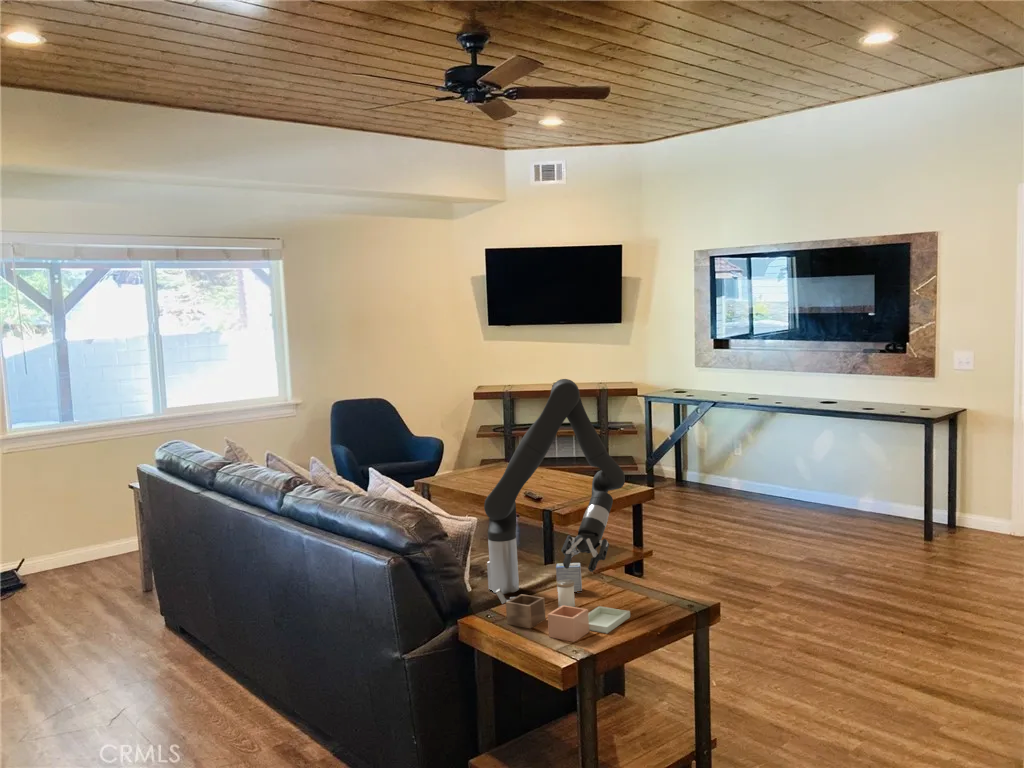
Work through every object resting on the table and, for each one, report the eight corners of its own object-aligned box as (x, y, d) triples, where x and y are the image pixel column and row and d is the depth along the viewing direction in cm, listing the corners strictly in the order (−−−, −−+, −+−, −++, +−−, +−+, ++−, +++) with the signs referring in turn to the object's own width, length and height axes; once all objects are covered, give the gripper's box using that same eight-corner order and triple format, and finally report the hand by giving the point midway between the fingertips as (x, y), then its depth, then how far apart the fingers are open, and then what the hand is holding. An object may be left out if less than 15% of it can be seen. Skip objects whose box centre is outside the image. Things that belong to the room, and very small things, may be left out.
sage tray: (575, 630, 212) (574, 621, 212) (599, 614, 224) (599, 606, 224) (607, 636, 206) (606, 627, 206) (630, 619, 218) (630, 611, 218)
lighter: (521, 613, 228) (519, 587, 228) (520, 615, 227) (519, 589, 226) (497, 614, 229) (495, 588, 228) (497, 616, 227) (495, 590, 227)
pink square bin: (548, 639, 207) (547, 614, 206) (564, 629, 213) (562, 605, 213) (574, 644, 202) (573, 618, 202) (589, 634, 209) (588, 609, 208)
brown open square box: (507, 626, 218) (505, 602, 218) (522, 617, 225) (521, 594, 224) (530, 631, 214) (529, 606, 213) (545, 621, 220) (544, 597, 220)
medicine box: (582, 588, 249) (580, 562, 248) (581, 593, 244) (580, 566, 244) (557, 589, 249) (556, 563, 249) (557, 593, 245) (555, 567, 245)
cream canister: (555, 617, 224) (553, 583, 223) (564, 611, 228) (562, 578, 227) (570, 619, 221) (568, 585, 220) (579, 614, 225) (577, 580, 224)
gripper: (569, 514, 240) (552, 560, 231) (609, 517, 232) (594, 565, 223) (578, 527, 245) (562, 572, 236) (618, 531, 237) (603, 578, 228)
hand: (577, 568), depth 230 cm, fingers open, 8 cm apart
